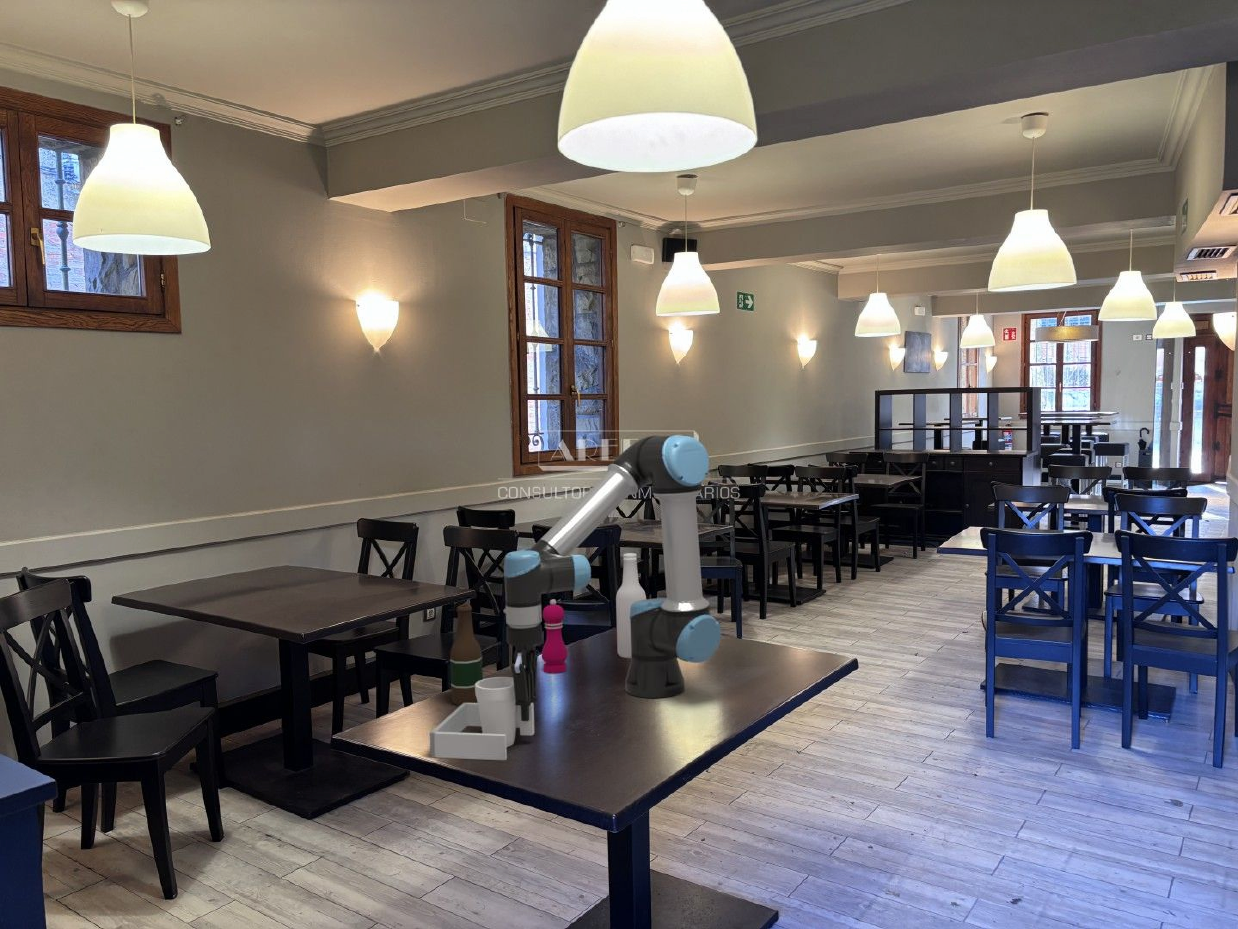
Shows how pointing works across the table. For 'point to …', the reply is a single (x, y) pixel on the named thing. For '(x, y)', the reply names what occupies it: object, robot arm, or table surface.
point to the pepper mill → (554, 639)
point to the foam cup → (497, 706)
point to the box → (467, 737)
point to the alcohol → (627, 603)
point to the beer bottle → (465, 660)
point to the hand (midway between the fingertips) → (527, 734)
